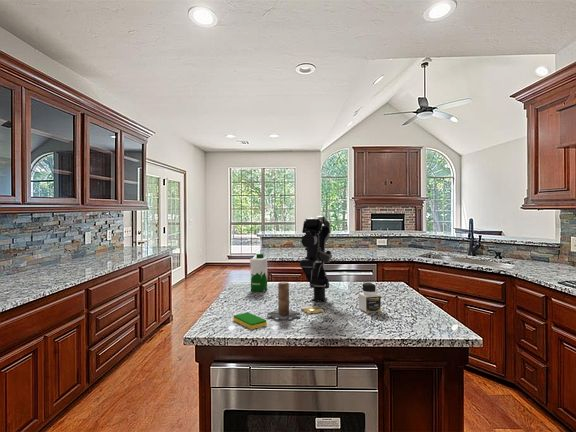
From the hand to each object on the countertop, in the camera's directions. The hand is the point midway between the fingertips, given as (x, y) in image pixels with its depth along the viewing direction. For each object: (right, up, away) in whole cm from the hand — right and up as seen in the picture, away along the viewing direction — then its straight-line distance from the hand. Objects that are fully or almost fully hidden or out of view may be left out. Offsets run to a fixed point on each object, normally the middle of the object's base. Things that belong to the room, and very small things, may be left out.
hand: (313, 279), depth 152 cm
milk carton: (-28, -13, +36) cm, 48 cm away
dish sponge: (-27, -14, -19) cm, 36 cm away
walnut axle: (-13, -12, -10) cm, 21 cm away
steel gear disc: (-13, -13, -10) cm, 21 cm away
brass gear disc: (-1, -13, -4) cm, 14 cm away
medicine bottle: (+25, -13, -3) cm, 28 cm away
